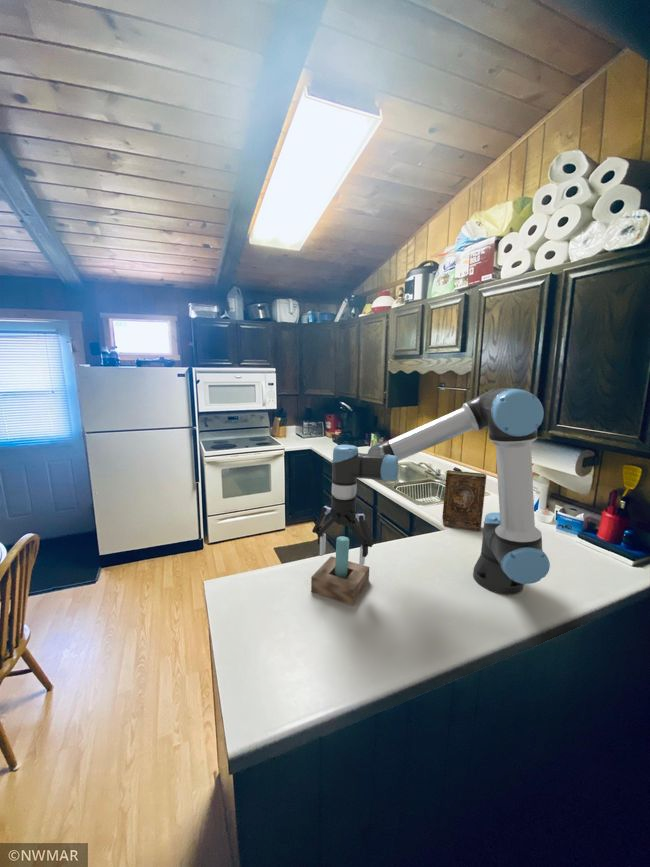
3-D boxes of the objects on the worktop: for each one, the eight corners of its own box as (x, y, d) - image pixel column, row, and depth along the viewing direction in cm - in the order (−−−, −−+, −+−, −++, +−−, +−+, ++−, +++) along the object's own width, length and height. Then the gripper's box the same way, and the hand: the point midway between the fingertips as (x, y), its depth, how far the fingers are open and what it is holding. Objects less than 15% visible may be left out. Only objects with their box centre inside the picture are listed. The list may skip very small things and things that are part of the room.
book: (479, 526, 157) (485, 473, 153) (481, 531, 152) (487, 477, 148) (442, 521, 162) (446, 469, 158) (442, 526, 157) (446, 473, 152)
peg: (348, 584, 112) (351, 538, 109) (343, 591, 108) (346, 543, 105) (337, 580, 113) (339, 535, 111) (332, 587, 110) (334, 540, 107)
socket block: (368, 580, 114) (369, 567, 113) (352, 605, 101) (353, 590, 100) (330, 569, 120) (331, 556, 119) (311, 591, 107) (311, 576, 107)
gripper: (387, 499, 103) (383, 564, 107) (313, 485, 114) (312, 545, 118) (379, 507, 97) (375, 576, 100) (302, 492, 108) (301, 554, 111)
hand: (341, 559), depth 109 cm, fingers open, 13 cm apart
